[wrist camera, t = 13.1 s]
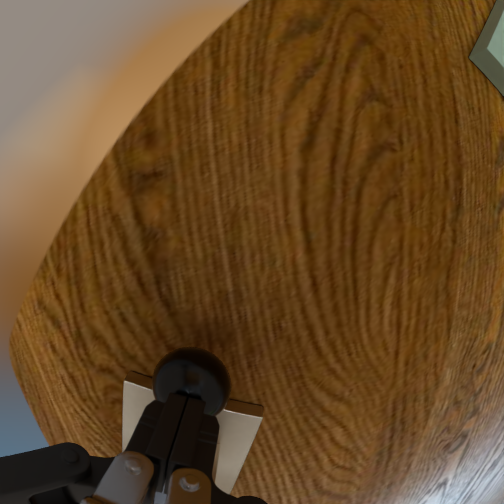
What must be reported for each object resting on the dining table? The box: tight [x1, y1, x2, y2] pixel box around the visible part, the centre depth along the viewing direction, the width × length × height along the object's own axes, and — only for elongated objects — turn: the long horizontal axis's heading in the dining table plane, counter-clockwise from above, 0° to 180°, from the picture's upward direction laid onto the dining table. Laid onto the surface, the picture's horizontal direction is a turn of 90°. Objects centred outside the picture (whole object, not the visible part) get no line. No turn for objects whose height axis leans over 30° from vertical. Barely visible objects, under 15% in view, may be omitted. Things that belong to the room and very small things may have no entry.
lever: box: [152, 347, 231, 504], centre depth 12 cm, size 14×4×4 cm, turn 166°
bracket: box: [122, 371, 263, 495], centre depth 15 cm, size 11×9×12 cm
